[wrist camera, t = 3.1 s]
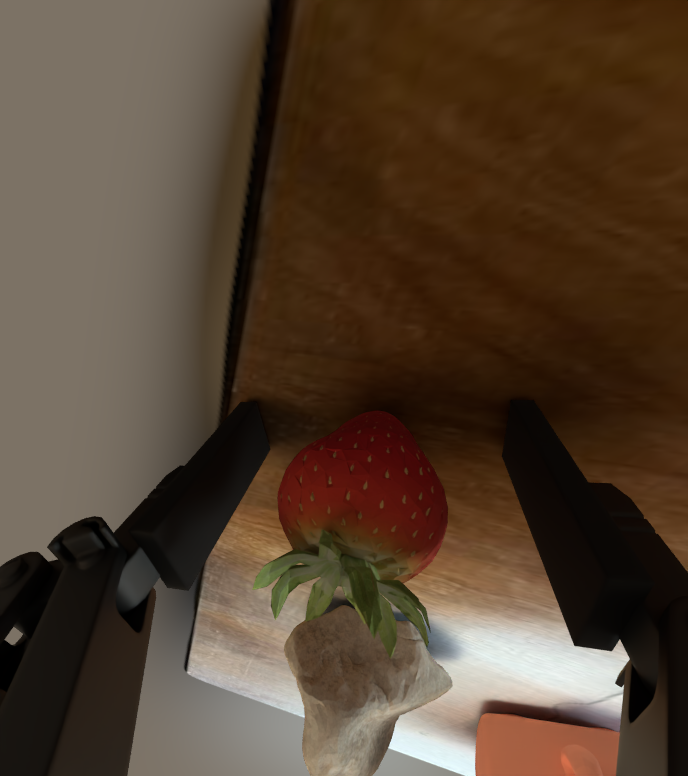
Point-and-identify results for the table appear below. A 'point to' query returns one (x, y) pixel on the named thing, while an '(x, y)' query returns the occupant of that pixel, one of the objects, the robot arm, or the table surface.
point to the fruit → (360, 523)
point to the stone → (357, 689)
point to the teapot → (543, 748)
